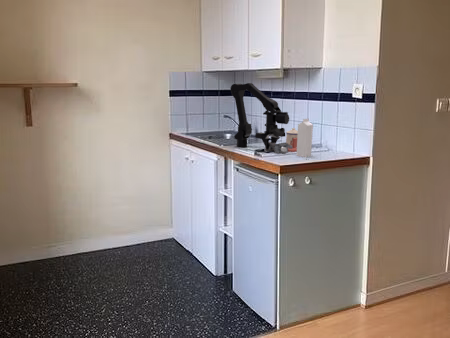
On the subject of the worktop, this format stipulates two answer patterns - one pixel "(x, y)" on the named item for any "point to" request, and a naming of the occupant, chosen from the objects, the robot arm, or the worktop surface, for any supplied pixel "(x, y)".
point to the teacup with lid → (291, 136)
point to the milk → (304, 138)
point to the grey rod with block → (272, 147)
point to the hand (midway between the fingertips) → (270, 149)
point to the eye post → (277, 148)
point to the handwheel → (293, 146)
